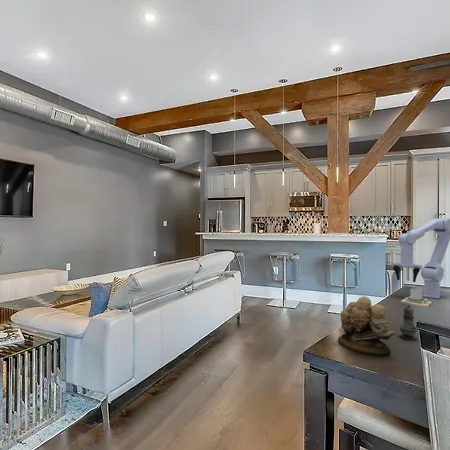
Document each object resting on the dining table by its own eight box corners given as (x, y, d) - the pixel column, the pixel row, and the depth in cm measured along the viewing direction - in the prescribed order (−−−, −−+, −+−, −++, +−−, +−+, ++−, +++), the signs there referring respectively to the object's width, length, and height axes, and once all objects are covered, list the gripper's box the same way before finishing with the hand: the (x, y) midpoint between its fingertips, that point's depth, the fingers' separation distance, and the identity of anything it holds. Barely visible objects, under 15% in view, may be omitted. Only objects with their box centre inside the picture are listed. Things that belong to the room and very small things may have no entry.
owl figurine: (400, 351, 105) (401, 298, 105) (385, 361, 97) (386, 305, 97) (347, 335, 118) (348, 288, 118) (330, 344, 110) (331, 294, 110)
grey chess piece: (395, 334, 120) (395, 302, 119) (410, 334, 120) (411, 302, 120) (405, 340, 114) (406, 306, 113) (421, 340, 114) (422, 306, 114)
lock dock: (406, 299, 173) (406, 295, 173) (432, 303, 164) (432, 299, 164) (400, 303, 165) (400, 298, 165) (427, 308, 156) (427, 303, 156)
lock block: (412, 299, 168) (412, 288, 168) (422, 301, 165) (422, 289, 164) (410, 301, 164) (410, 289, 164) (420, 303, 161) (420, 290, 161)
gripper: (389, 255, 178) (389, 280, 178) (420, 257, 168) (419, 283, 168) (393, 254, 183) (393, 278, 183) (423, 256, 173) (423, 282, 173)
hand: (406, 280), depth 176 cm, fingers open, 7 cm apart
